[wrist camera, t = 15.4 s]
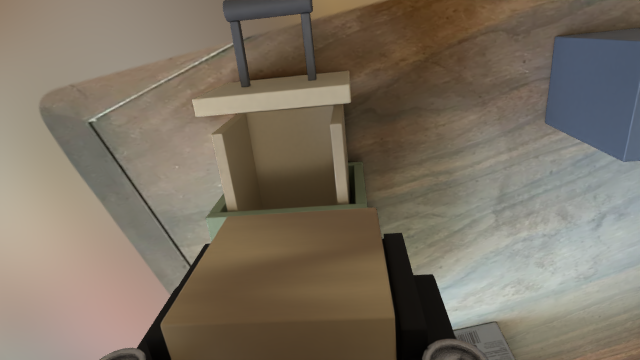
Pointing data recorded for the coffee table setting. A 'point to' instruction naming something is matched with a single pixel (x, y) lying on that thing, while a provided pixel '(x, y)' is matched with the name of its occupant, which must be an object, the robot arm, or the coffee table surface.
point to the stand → (598, 90)
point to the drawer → (279, 125)
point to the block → (287, 291)
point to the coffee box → (487, 341)
